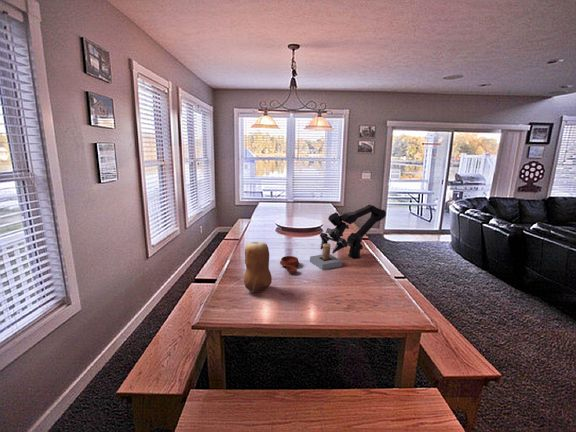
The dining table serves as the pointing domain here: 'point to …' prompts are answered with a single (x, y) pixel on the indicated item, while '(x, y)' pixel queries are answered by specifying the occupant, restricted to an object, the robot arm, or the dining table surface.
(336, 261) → the socket block
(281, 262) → the pottery
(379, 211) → the robot arm
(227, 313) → the dining table surface
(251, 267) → the butternut squash
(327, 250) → the tan wooden cylinder
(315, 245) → the dining table surface
